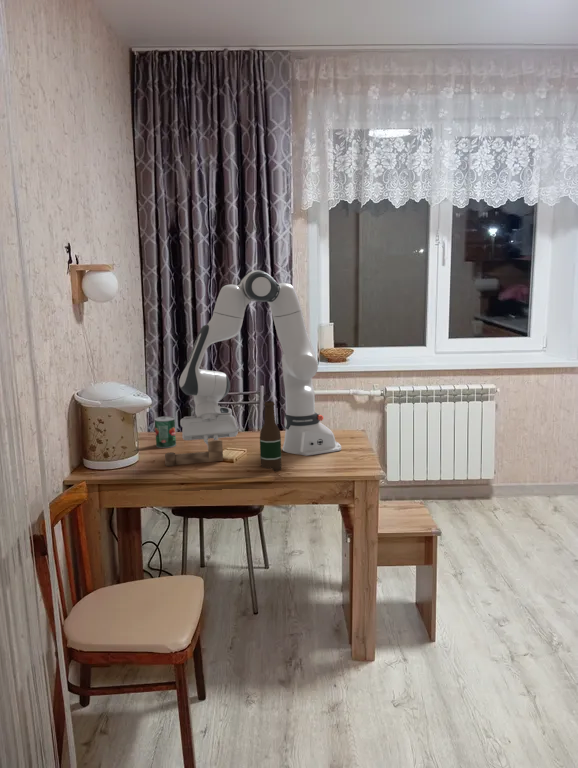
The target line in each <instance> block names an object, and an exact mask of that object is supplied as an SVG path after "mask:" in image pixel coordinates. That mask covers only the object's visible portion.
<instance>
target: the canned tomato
mask: <svg viewBox="0 0 578 768" xmlns="http://www.w3.org/2000/svg"><path fill="white" fill-rule="evenodd" d="M154 430H155V431H154V432H155V446H156V448H159V449H168V448H173V447H175V446H177V438H176V419H175V416H171V415H169V416H167V415H166V416H165V415H164V416H158V417H154Z"/></svg>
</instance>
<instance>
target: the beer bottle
mask: <svg viewBox="0 0 578 768" xmlns="http://www.w3.org/2000/svg"><path fill="white" fill-rule="evenodd" d="M263 405H264V408H265V409H264V423H263V426H262V427H261V429H260V432H259V433H260V434H259V450H260V451H259V455H260V468H264V469H272V471H273V472H274V473H276V472H279V471H281V470H282V441H281V440H282V438H281V431H280V428H279V426H278V425H277V423H276V416H275V401H274V400H273V401H272V400H269V401H265V402H264V404H263Z"/></svg>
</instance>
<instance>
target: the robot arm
mask: <svg viewBox="0 0 578 768" xmlns="http://www.w3.org/2000/svg"><path fill="white" fill-rule="evenodd" d="M251 302H262V303H264V302H265V303H267V304H268V305H269V307H270V310H271V316H272V320H273V323H274V326H275V330H276V331H275V332H276V336H277V339H278V342H279V343H280V346H281V350H282V353H283V354H282V356H281V365H282V368H281V369H282V377H283V378H282V379H283V385H284V393H285V394H284V397H285V413H284V428H285V434H284V442H283V444H282V445H283V446H282V447H281V450H282V451H283V452H285V453H288V454H293V455H294V454H295V455H302V456H305V457H306V456H313V455H314V456H315V455H320V454H328V453H333V452H340V451H341V450H342V445H341V444H340V442H338V441H336V438H335V434H334V432H333V431H332V430H331V429H330V428H329V427H327V426H326V425H325V424H323V423H322V421H323V420H324V415H322V414H319V413H317V412H316V410H315V408H316V407H315V405H316V404H315V401H316V400H315V399H316V398H315V389H314V385H313V377H315V376H316V375H317V372H318V369H319V364H318V360H317V358H316V354H315V351H314V348H313V345H312V341H311V339H310V335H309V333H308V330H307V326H306V322H305V319H304V314H303V309H302V305H301V302H300V299H299V296H298V294H297V292H296V289H295V288H294V286H293V285H292V284H290V283H288V282H280V283H278V282H277V281H276V280H275V279H274V277H273V276H271V275H270V274H269V273H268V272H265V271H263V270H259V269H258V270H252V271H250V272H248V273H245V275H244V276H243V277H242V278H241V279H240V281H238V283H237V284H226V285H224V286H222V287H221V289H220V291H219V292H218V296H217V298H216V302H215V305H214V309H213V313H212V317H211V318H210V320H209V321H208V323H207V324H204V325H202V327H201V328H200V329H199V332H198V334H197V336H196V338H195V341H194V343H193V347H192V349H191V352H190V354H189V357H188V359H187V362H186V364H185V365H184V366H185V367H184V368H183V370H182V372H181V373H180V378H179V380H178V381H179V382H178V383H179V384H178V385H179V388H180V389H181V391H182V393H184V394H185V395H186V396H193V401H194V404H195V408H194V410H195V411H194V413H195V415H191V416H183V418H181V419H180V421H179V425H180V427H181V428H182V432H181V433H182V435H181V436H182V439H183V440H184V441H196V440H203V442H204V443H205V444H206V445H207V446H208V441H209V440H210V439H213V440H219V439H221V438H235V437H237V435H238V433H239V428H238V423H237V420H236V418H235V416H234V415H233V411H232V408H229V407H225V406H219V401H221V400H222V399H224V398H225V397H226V396H228V394H229V392H230V389H231V383H230V379H229V377H228V374H227V373H225V372H222V371H217V370H216V371H215V370H209V369H203V368H201V364H202V363H203V362H202V361H203V359H204V356H205V354H206V351H207V349H208V348H209V347H210V346H211V345H213V344H214V343H218V342H222V341H227V340H231V339H233V338H234V337H236V336H237V335H238V334H239V333H240V332H241V329H242V326H243V321H244V317H245V312H246V309H247V306H248V304H250V303H251Z"/></svg>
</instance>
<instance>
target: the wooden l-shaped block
mask: <svg viewBox="0 0 578 768" xmlns="http://www.w3.org/2000/svg"><path fill="white" fill-rule="evenodd" d="M164 460H165V461H164V462H165V467H175V466H176V465H177V466H179V465H189V464H199V463H212V462H213V463H214V462H223V461H224V452H223V439H218V440H214V439H211V440H210V439H208V445H207V451H200V452H199V451H197V452H187V453H177V454H176V452H166V453H164Z"/></svg>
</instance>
